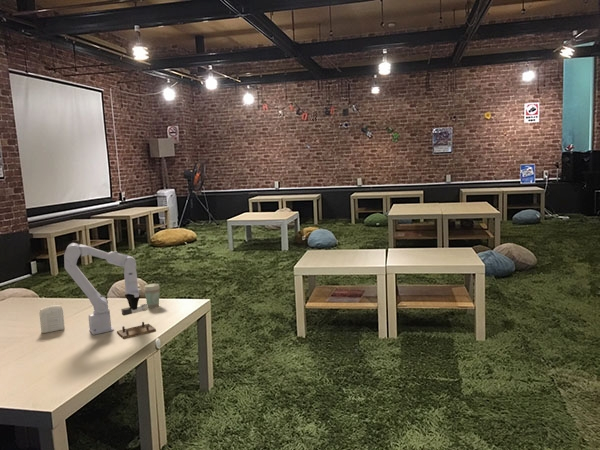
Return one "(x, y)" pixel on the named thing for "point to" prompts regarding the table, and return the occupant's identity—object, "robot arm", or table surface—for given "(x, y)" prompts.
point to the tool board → (136, 330)
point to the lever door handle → (129, 310)
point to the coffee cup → (152, 295)
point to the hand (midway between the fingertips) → (133, 308)
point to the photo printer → (51, 318)
